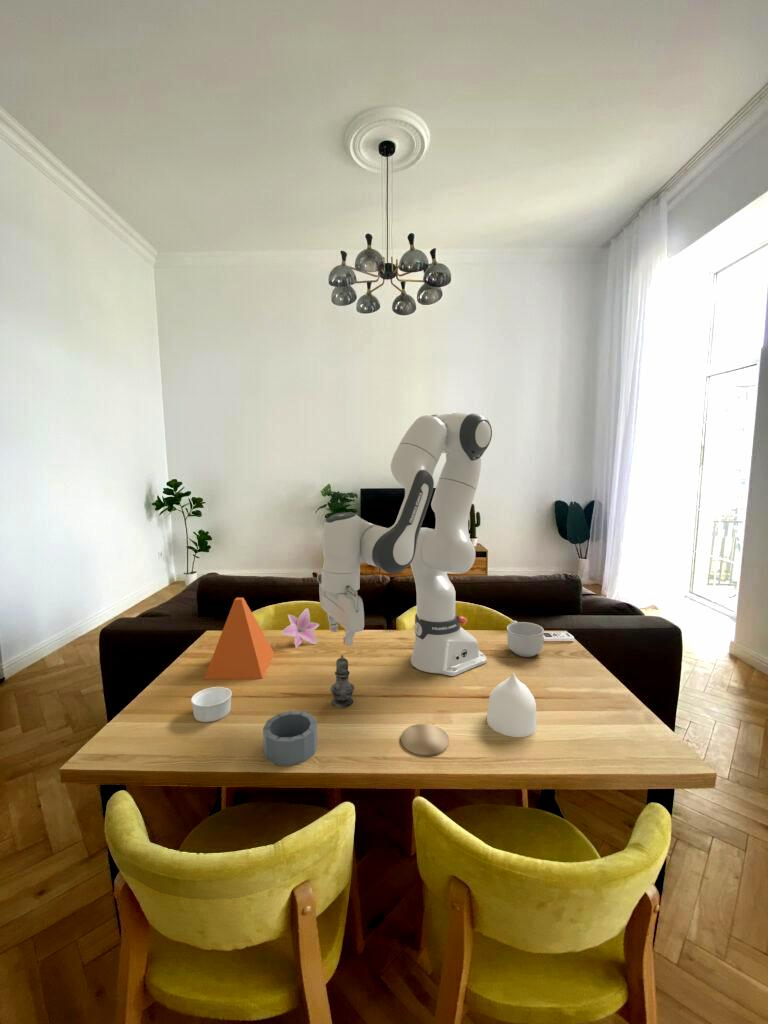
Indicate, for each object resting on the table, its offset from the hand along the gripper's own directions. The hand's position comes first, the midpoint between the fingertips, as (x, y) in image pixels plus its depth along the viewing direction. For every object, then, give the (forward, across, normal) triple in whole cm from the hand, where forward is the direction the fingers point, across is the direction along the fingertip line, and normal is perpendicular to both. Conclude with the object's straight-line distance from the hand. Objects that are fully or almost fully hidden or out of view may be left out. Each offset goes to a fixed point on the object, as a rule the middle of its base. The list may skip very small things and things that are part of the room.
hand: (340, 637), depth 108 cm
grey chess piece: (+17, 0, -1) cm, 17 cm away
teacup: (+15, +3, -62) cm, 64 cm away
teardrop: (+16, -25, -32) cm, 43 cm away
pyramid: (+17, +31, +18) cm, 40 cm away
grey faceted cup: (+17, -12, +15) cm, 26 cm away
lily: (+16, +40, -2) cm, 43 cm away
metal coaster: (+16, -22, -11) cm, 29 cm away
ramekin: (+17, +9, +28) cm, 34 cm away
